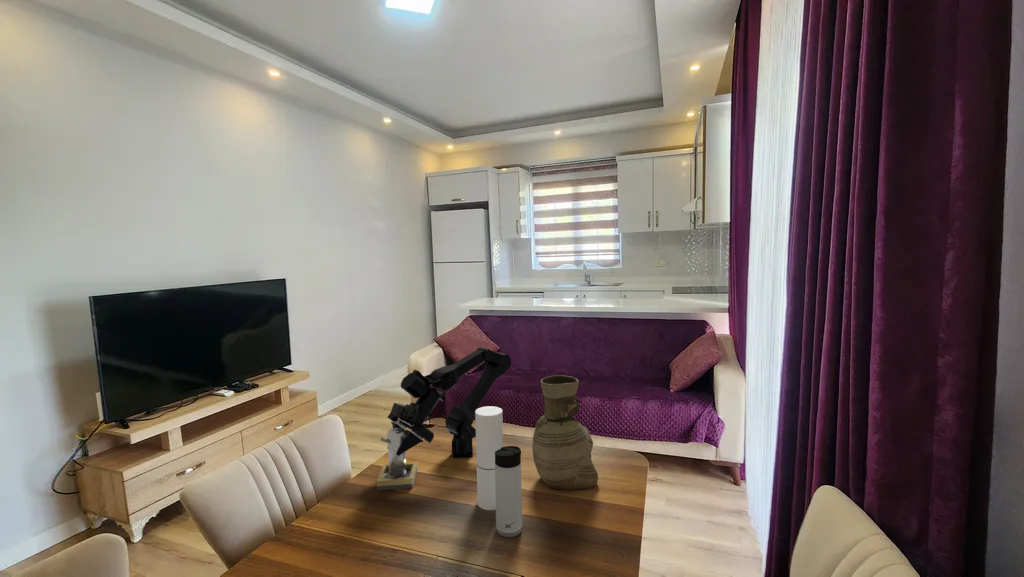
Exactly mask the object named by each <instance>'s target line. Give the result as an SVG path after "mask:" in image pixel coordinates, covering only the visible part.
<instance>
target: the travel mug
mask: <svg viewBox="0 0 1024 577" xmlns="http://www.w3.org/2000/svg"><path fill="white" fill-rule="evenodd" d="M521 458H522V450H521V447H519V446H515V445H505V446H503V447H502V448H501V449H499V450H497V451H495V494H496V509H495V524H496V525H495V530H496V532H497V534H498V535H500V536H502V537H505V538H513V537H516V536H518V535H519V534H521V532H522V531H523V502H522V501H523V498H522V497H523V496H522V495H523V494H522V491H523V490H522V459H521Z"/></svg>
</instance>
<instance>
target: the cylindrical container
mask: <svg viewBox="0 0 1024 577" xmlns="http://www.w3.org/2000/svg"><path fill="white" fill-rule="evenodd" d="M474 418H475V429H476V437H475V445H476V446H475V450H476V452H475V453H476V454H475V455H476V489H477V490H476V491H477V492H476V493H477V506H478V507H479V508H480V509H483V510H485V511H496V494H495V451H497V450H499V449H501V448H502V447H504V429H503V426H504V425H503V423H504V422H503V420H504V419H503V409H502V408H500V407H499V406H492V405H491V406H489V405H488V406H487V405H486V406H481V407H479V408H477V409H476V411H475V412H474Z"/></svg>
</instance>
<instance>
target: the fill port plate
mask: <svg viewBox="0 0 1024 577" xmlns="http://www.w3.org/2000/svg"><path fill="white" fill-rule="evenodd" d="M406 469H407V472H406V473H405V474H404V475H401V476H397V477H393V476H390V475H389V463H384V464H383V465H382V468H381V470H380V473H379V474H378V477H377V479H376V491H386V490H400V489H401V490H402V489H413V488H414V484H415V481H416V477H417V474H418V462H417V461H415V462H412V461H411V462H406Z"/></svg>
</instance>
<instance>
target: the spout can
mask: <svg viewBox="0 0 1024 577" xmlns="http://www.w3.org/2000/svg"><path fill="white" fill-rule="evenodd" d="M405 431H406V428H405V429H403V428H394V429H393V428H391V429H389V430H387V438H386V437H381V438H380V442H383V443H387V447H388V449H387V450H388V451H387V452H388V454H387V456H388V464H389V475H390V476H393V477H397V476H401V475H404V474H405V473H406V472H407V469H406V463H407V451H406V452H404V453H403V454H401V455H400V456H398V455H396V453H397V451H398V449H399V447H400V445H401V443H402V442H403V440H404V438H405Z"/></svg>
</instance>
